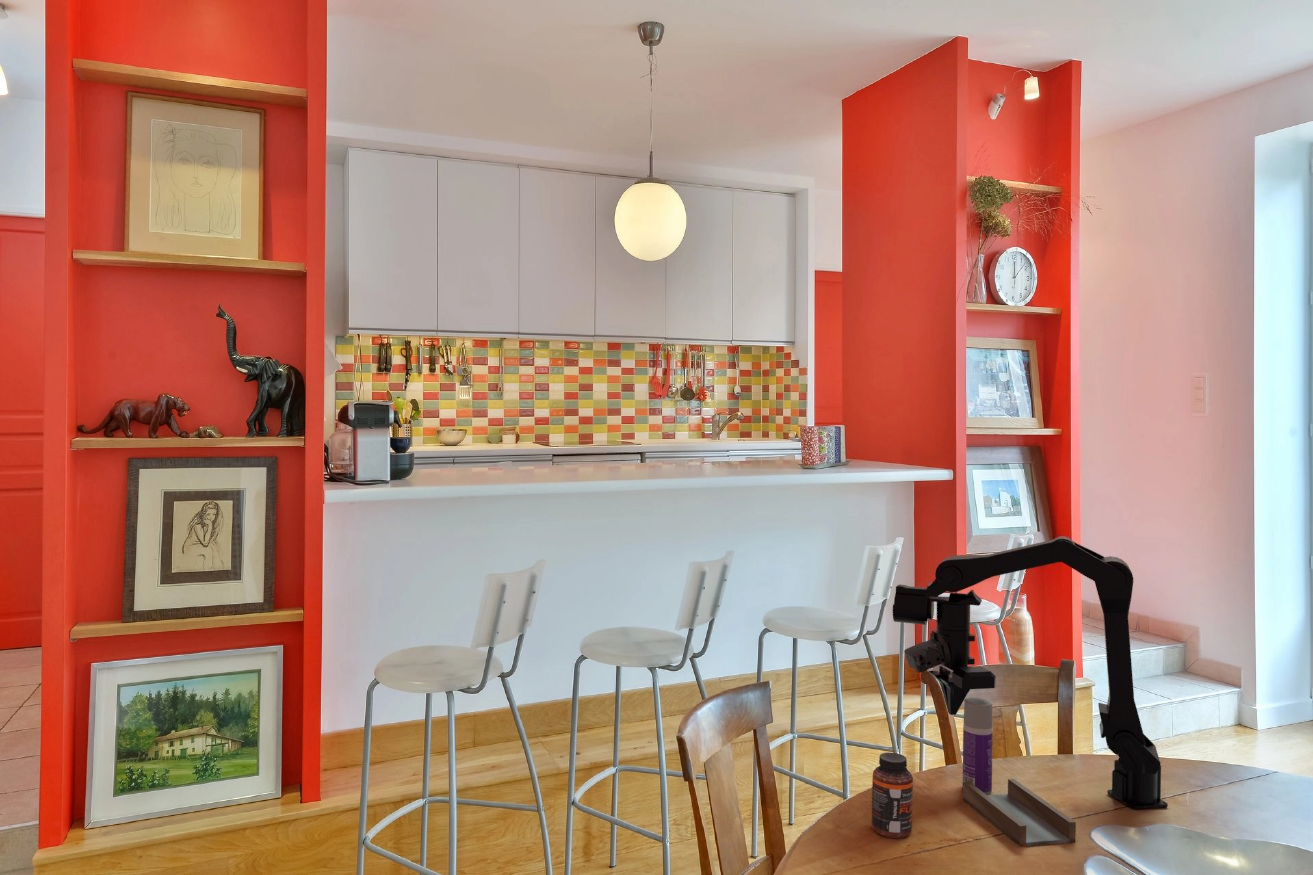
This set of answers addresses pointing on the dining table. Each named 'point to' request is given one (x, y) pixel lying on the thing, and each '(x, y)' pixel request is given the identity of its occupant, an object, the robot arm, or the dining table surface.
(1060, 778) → the dining table surface
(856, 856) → the dining table surface
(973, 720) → the container
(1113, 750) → the robot arm
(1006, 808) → the cradle
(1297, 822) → the dining table surface
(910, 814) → the supplement bottle
